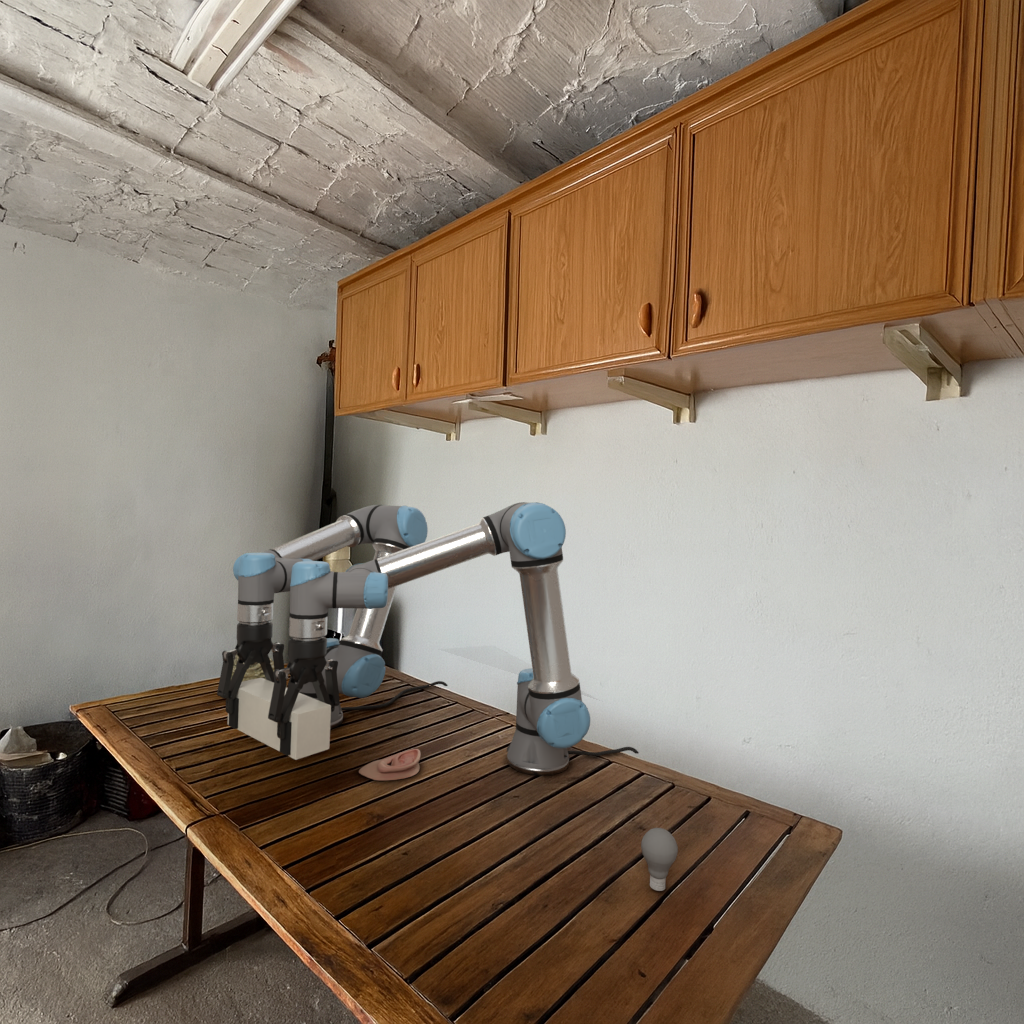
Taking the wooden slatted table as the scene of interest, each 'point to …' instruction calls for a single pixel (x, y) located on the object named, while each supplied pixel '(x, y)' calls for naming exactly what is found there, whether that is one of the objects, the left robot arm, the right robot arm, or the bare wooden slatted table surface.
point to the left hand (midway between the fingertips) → (251, 722)
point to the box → (306, 720)
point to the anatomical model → (393, 766)
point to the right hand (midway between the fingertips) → (303, 747)
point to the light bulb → (659, 855)
